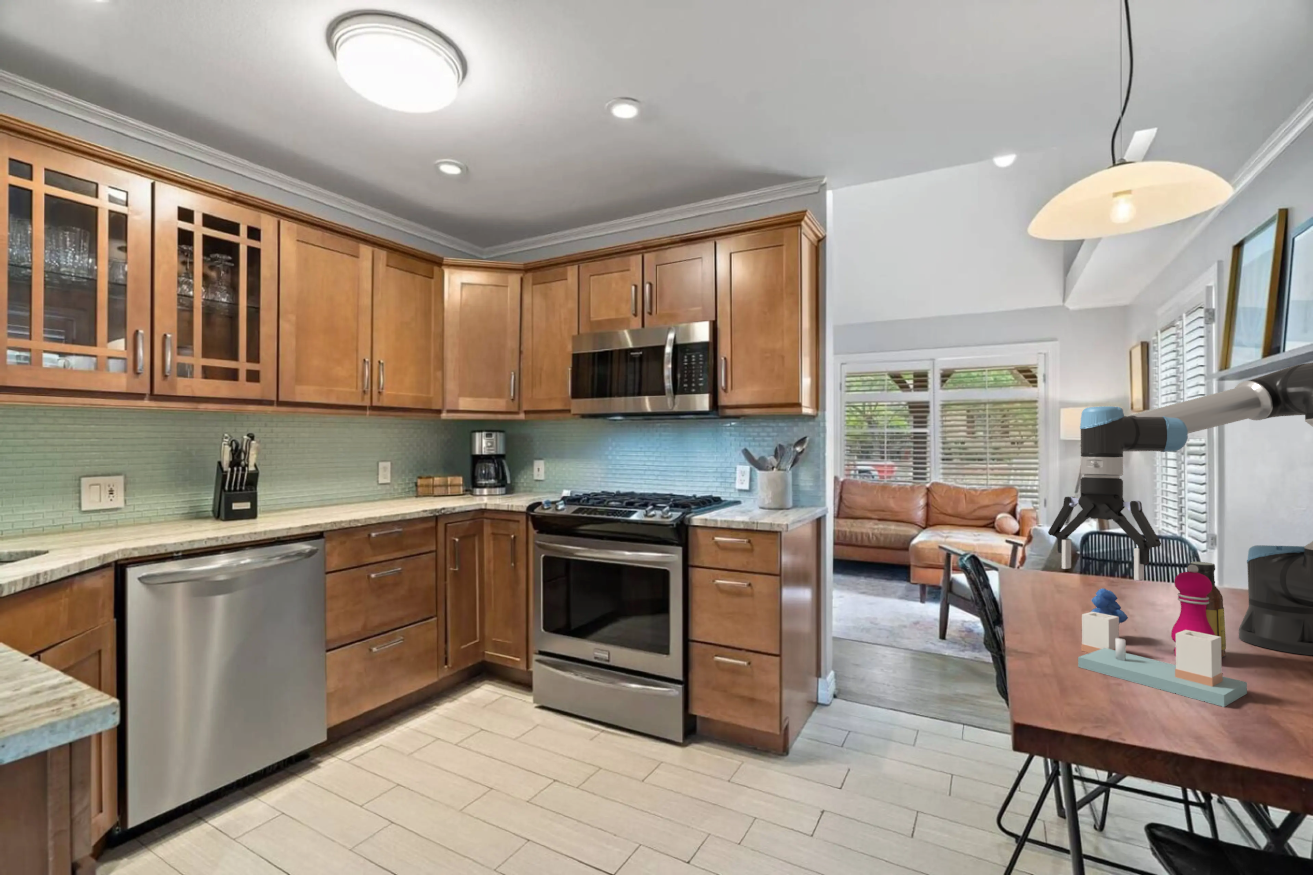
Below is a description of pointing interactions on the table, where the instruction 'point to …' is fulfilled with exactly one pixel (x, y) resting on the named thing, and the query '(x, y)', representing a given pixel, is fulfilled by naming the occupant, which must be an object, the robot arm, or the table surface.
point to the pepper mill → (1192, 602)
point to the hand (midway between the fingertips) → (1101, 573)
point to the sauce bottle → (1214, 604)
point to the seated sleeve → (1198, 657)
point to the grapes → (1108, 604)
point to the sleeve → (1099, 631)
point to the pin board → (1158, 675)
